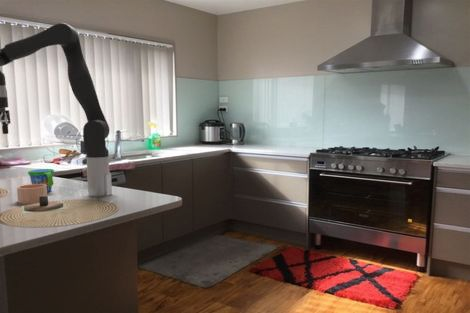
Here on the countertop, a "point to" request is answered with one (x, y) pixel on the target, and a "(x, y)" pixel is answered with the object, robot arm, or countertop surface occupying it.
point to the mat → (43, 211)
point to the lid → (43, 205)
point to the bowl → (31, 193)
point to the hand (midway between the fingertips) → (0, 134)
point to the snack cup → (42, 177)
